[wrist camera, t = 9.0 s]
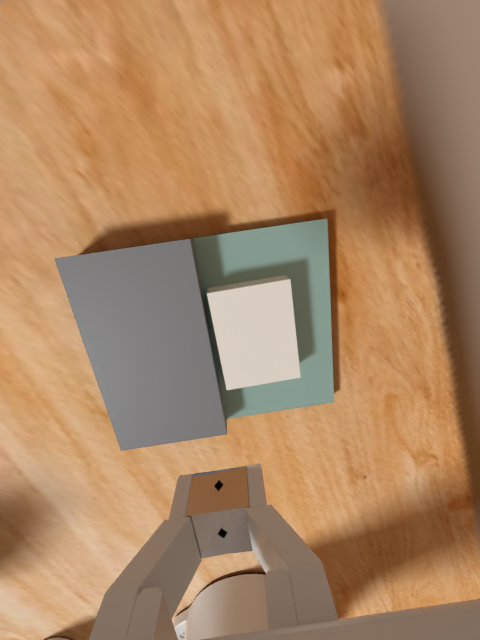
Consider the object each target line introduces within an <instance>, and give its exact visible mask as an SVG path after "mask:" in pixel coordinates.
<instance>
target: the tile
mask: <svg viewBox="0 0 480 640" xmlns="http://www.w3.org/2000/svg"><path fill="white" fill-rule="evenodd" d="M207 297H208V302H209V307H210V312H211V317H212V322H213V326H214V331H215V336H216V341H217V346H218V351H219V356H220V361H221V365H222V370H223V375H224V380H225V385H226V390H232V389H238V388H244V387H249V386H255V385H261V384H267V383H272V382H278V381H284V380H290V379H295V378H301V376H300V367H299V357H298V347H297V338H296V328H295V319H294V309H293V300H292V290H291V280H290V278H288V277H287V276H285V275H281V276H275V277H269V278H264V279H258V280H252V281H246V282H240V283H235V284H229V285H223V286H217V287H211V288H208V291H207Z"/></svg>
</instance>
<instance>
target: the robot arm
mask: <svg viewBox="0 0 480 640" xmlns="http://www.w3.org/2000/svg"><path fill="white" fill-rule="evenodd" d="M246 551H253V553H254V555H255V556H256V558H257V560H258V561H259V563H260V565H261V566H262V568H263V569H264V571H265V573H266V575H263V574H245V575H238V576H233V577H229V578H226V579H223V580H220V581H218V582H216V583H214V584H212V585H210V586H209V587H207V588H206V589H204V590H203V591H202V592H201V593H200V594H199V595H198V596H197V597H196V599H195V600H194V602H193V603H192V605H191V606H190V607H189V608H188V609H187V610H185V611H183V612H182V613H180V614H179V615H178V616H176V617H175V619H174V626H173V623H172V620H171V619H172V617H173V615H174V613H175V611H176V609H177V607H178V605H179V603H180V601H181V599H182V597H183V595H184V593H185V591H186V590H187V588H188V586H189V584H190V582H191V580H192V578H193V576H194V574H195V572H196V570H197V568H198V566H199V564H200V562H201V558H206V557H211V556H217V555H222V554H228V553H237V552H246ZM177 637H178V638H179V640H480V599H475V600H469V601H462V602H455V603H448V604H441V605H434V606H427V607H420V608H413V609H407V610H400V611H393V612H386V613H379V614H372V615H365V616H358V617H351V618H345V619H339V618H338V615H337V611H336V608H335V604H334V601H333V598H332V594H331V591H330V587H329V584H328V580H327V577H326V573H325V570H324V566H323V563H322V561H321V560H320V559H319V558H318V557H317V555H316V554H315V553H314V552H313V551H312V550H311V549H310V548H309V547H308V545H307V544H306V543H305V542H304V541H303V540H302V539H301V538H300V537H299V535H298V534H297V533H296V532H295V531H294V530H293V529H292V528H291V526H290V525H289V524H288V523H287V522H286V521H285V520H284V519H283V518H282V516H281V515H280V514H279V513H278V512H277V511H276V510H275V509H274V507H273V506H272V505H267V501H266V494H265V488H264V482H263V475H262V469H261V464H255V465H249V466H243V467H237V468H231V469H224V470H219V471H211V472H203V473H195V474H189V475H180V476H179V478H178V480H177V485H176V489H175V494H174V498H173V503H172V507H171V512H170V516H169V519H168V520H164V521H163V523H162V524H161V525H160V526H159V528H158V529H157V530H156V531H155V532H154V534H153V535H152V536H151V537H150V539H149V540H148V541H147V542H146V544H145V545H144V546H143V547H142V548H141V550H140V551H139V552H138V553H137V555H136V556H135V557H134V558H133V559H132V561H131V562H130V563H129V564H128V566H127V567H126V568H125V569H124V571H123V572H122V573H121V574H120V575H119V577H118V578H117V579H116V580H115V582H114V583H113V584H112V585H111V586H110V588H109V589H108V590H107V591H106V593H105V595H104V598H103V601H102V604H101V606H100V609H99V612H98V615H97V618H96V620H95V623H94V626H93V629H92V632H91V634H90V637H89V640H178V638H177Z"/></svg>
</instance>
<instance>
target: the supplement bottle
mask: <svg viewBox="0 0 480 640" xmlns="http://www.w3.org/2000/svg"><path fill="white" fill-rule="evenodd" d="M47 640H70V639H66V638H59V637H57V638H50V639H47Z"/></svg>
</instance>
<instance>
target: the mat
mask: <svg viewBox="0 0 480 640" xmlns="http://www.w3.org/2000/svg"><path fill="white" fill-rule="evenodd" d="M193 241H194V246H195V251H196V257H197V262H198V267H199V273H200V278H201V284H202V289H203V294H204V300H205V305H206V310H207V316H208V321H209V327H210V332H211V337H212V343H213V348H214V353H215V359H216V364H217V370H218V375H219V380H220V386H221V391H222V397H223V402H224V407H225V413H226V418H227V419H229V418H235V417H242V416H248V415H255V414H261V413H267V412H274V411H280V410H287V409H293V408H300V407H306V406H312V405H319V404H325V403H332V402H334V384H333V357H332V329H331V302H330V274H329V247H328V219H320V220H313V221H306V222H299V223H293V224H286V225H279V226H272V227H265V228H259V229H252V230H245V231H238V232H231V233H225V234H218V235H211V236H204V237H198V238H193ZM281 275H285V276H287V277H288V278H290V280H291V290H292V300H293V309H294V319H295V328H296V338H297V347H298V357H299V367H300V376H301V378H295V379H290V380H284V381H278V382H272V383H267V384H261V385H255V386H249V387H244V388H238V389H232V390H226V385H225V380H224V375H223V370H222V365H221V361H220V356H219V351H218V346H217V341H216V336H215V331H214V326H213V322H212V317H211V312H210V307H209V302H208V297H207V291H208V288H211V287H217V286H223V285H229V284H235V283H240V282H246V281H252V280H258V279H264V278H269V277H275V276H281Z"/></svg>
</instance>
